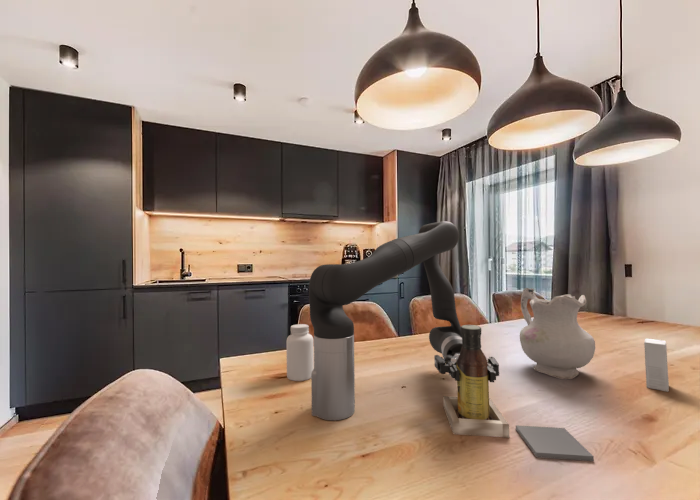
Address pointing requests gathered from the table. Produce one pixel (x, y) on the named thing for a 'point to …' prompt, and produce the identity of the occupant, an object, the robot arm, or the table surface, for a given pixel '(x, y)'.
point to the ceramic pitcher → (555, 335)
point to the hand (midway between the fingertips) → (475, 376)
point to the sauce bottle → (472, 376)
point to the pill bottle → (299, 353)
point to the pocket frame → (476, 421)
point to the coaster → (553, 443)
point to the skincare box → (656, 364)
